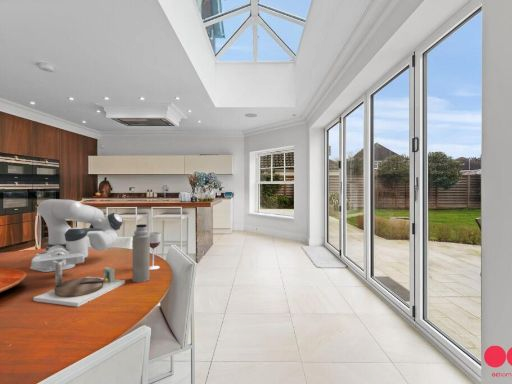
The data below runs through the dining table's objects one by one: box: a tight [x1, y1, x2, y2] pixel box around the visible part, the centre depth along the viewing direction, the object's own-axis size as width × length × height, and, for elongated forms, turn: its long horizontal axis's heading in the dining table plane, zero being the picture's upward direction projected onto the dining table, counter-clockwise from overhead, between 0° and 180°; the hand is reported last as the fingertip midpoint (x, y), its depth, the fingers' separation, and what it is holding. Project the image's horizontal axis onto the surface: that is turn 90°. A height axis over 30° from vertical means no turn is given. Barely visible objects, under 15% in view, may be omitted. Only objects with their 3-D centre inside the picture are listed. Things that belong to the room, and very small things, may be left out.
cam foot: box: [54, 262, 108, 297], centre depth 122 cm, size 20×18×12 cm
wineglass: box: [148, 231, 162, 271], centre depth 161 cm, size 8×9×20 cm
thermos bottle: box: [131, 224, 151, 283], centre depth 140 cm, size 8×8×28 cm
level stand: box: [33, 266, 126, 308], centre depth 123 cm, size 22×27×8 cm
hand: (59, 264), depth 124 cm, fingers closed
